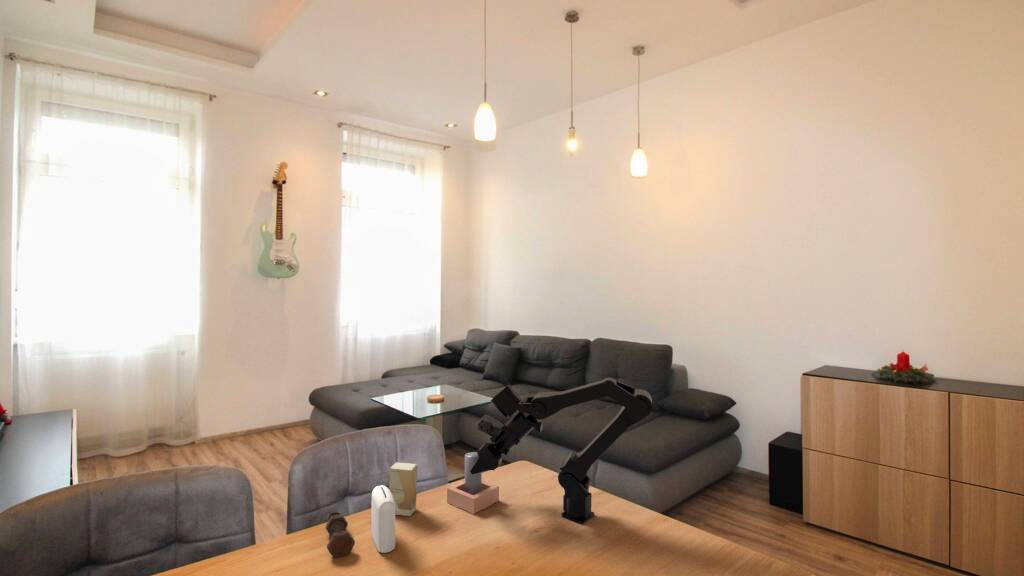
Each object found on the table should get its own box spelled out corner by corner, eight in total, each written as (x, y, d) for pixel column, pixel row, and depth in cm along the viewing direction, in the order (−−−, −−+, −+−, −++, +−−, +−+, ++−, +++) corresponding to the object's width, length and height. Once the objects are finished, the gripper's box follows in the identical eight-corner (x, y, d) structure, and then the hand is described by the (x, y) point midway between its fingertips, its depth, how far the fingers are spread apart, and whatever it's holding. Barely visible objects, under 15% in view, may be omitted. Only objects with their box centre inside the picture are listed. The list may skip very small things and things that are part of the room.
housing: (498, 500, 135) (498, 486, 135) (473, 514, 127) (473, 499, 127) (472, 490, 141) (472, 476, 141) (447, 502, 133) (447, 488, 133)
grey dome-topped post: (484, 500, 133) (484, 456, 133) (468, 503, 131) (468, 459, 131) (477, 493, 137) (477, 451, 137) (462, 497, 135) (462, 453, 135)
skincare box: (387, 514, 126) (387, 467, 126) (394, 506, 131) (394, 461, 130) (411, 517, 125) (411, 469, 125) (417, 508, 130) (417, 463, 129)
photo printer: (369, 533, 117) (369, 482, 117) (387, 529, 119) (387, 479, 119) (377, 555, 108) (377, 500, 108) (397, 551, 110) (397, 496, 110)
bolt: (338, 532, 121) (344, 562, 108) (319, 525, 120) (323, 556, 106) (350, 509, 123) (358, 536, 109) (331, 502, 121) (337, 529, 107)
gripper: (504, 398, 141) (468, 433, 144) (485, 416, 123) (444, 455, 126) (531, 427, 139) (494, 462, 142) (515, 450, 121) (473, 489, 124)
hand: (476, 466), depth 133 cm, fingers open, 9 cm apart
